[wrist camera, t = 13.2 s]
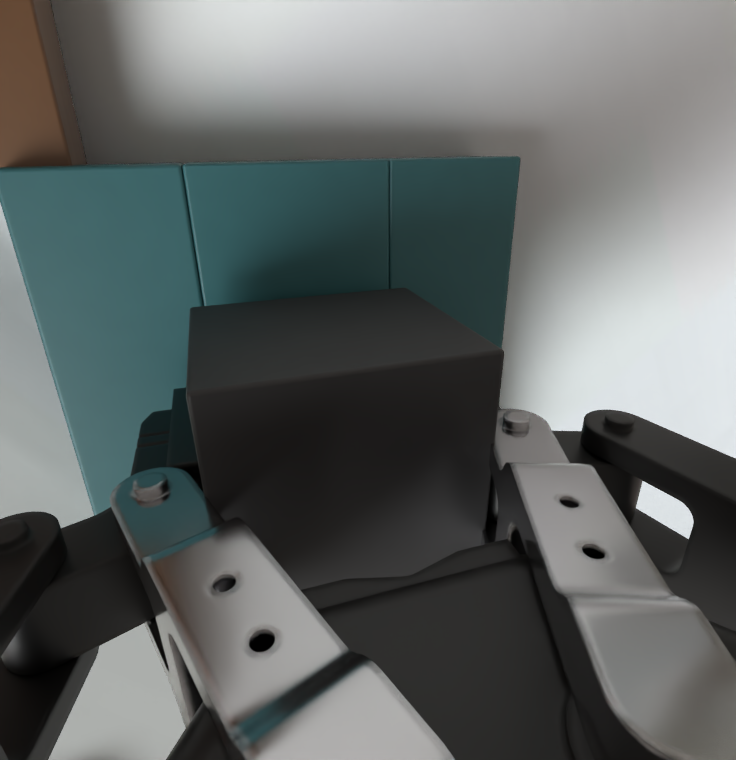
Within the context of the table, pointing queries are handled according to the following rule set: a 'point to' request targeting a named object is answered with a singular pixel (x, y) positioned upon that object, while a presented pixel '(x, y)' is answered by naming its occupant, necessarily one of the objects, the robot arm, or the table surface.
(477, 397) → the black block
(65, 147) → the switch box
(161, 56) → the table surface
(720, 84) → the table surface
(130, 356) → the teal square frame
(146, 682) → the table surface
